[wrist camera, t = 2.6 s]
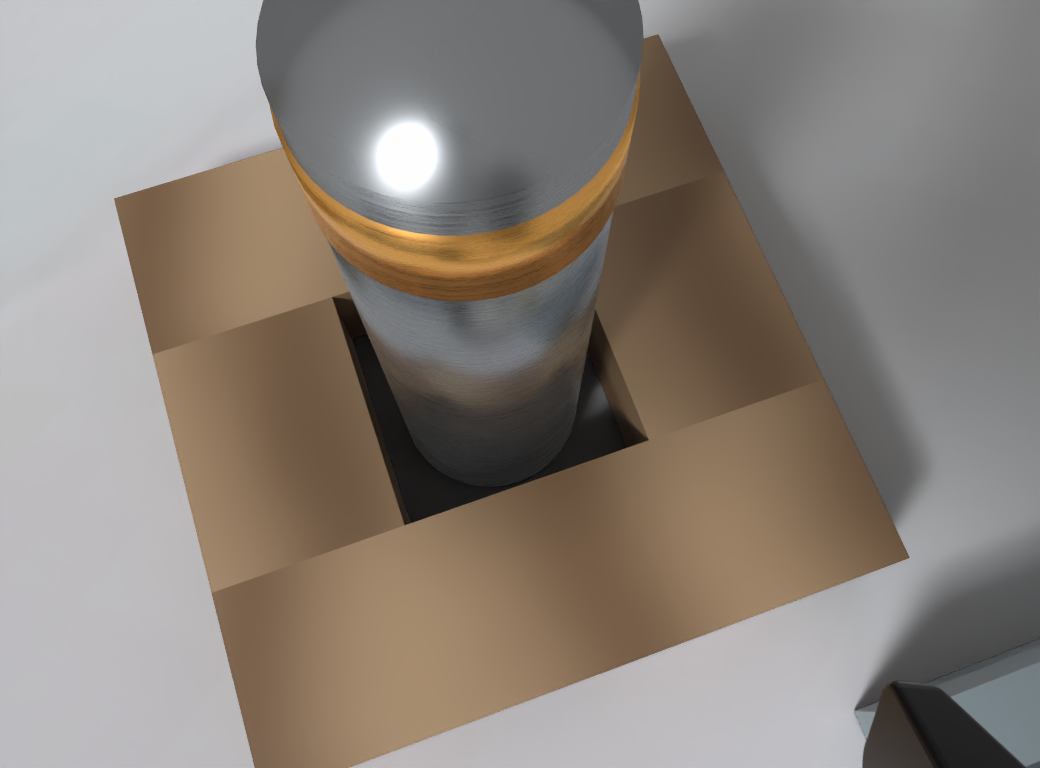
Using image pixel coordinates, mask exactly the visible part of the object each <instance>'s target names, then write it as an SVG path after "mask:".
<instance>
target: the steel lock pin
mask: <svg viewBox="0 0 1040 768" xmlns="http://www.w3.org/2000/svg"><path fill="white" fill-rule="evenodd" d="M642 49H643V24H642V15H641V11H640V6H639V2H638V0H263V4H262V8H261V12H260V16H259V20H258V26H257V37H256V52H257V65H258V70H259V74H260V78H261V83H262V86H263V89H264V91H265V94H266V96H267V99H268V101H269V104H270V109H271V113H272V118H273V122H274V126H275V129H276V131H277V134H278V136H279V139H280V141H281V144H282V146H283V149H284V151H285V153H286V156H287V158H288V160H289V162H290V165H291V167H292V169H293V172H294V174H295V176H296V179H297V181H298V183H299V185H300V188H301V190H302V192H303V195H304V197H305V199H306V202H307V204H308V206H309V208H310V211H311V213H312V215H313V218H314V219H315V221H316V223H317V225H318V226H319V228H320V230H321V231H322V233H323V235H324V236H325V237H326V239H327V240H328V242H329V245H330V247H331V249H332V252H333V254H334V257H335V259H336V261H337V264H338V266H339V268H340V271H341V273H342V275H343V278H344V280H345V282H346V285H347V287H348V289H349V292H350V294H351V296H352V299H353V301H354V304H355V306H356V308H357V311H358V313H359V315H360V318H361V320H362V322H363V325H364V327H365V329H366V332H367V334H368V336H369V339H370V341H371V343H372V346H373V348H374V350H375V353H376V355H377V358H378V360H379V362H380V365H381V367H382V369H383V372H384V374H385V376H386V379H387V381H388V383H389V386H390V388H391V390H392V393H393V395H394V397H395V400H396V402H397V404H398V407H399V409H400V412H401V414H402V416H403V419H404V421H405V423H406V426H407V428H408V430H409V433H410V435H411V437H412V440H413V442H414V443H415V445H416V447H417V448H418V450H419V451H420V453H421V454H422V455H423V457H424V458H425V459H426V460H427V461H428V462H429V463H430V464H431V465H432V466H433V467H435V468H436V469H437V470H439V471H440V472H441V473H443V474H445V475H447V476H448V477H450V478H452V479H455V480H457V481H460V482H462V483H466V484H470V485H475V486H484V487H492V486H503V485H509V484H513V483H516V482H520V481H522V480H524V479H527V478H529V477H531V476H533V475H534V474H536V473H538V472H539V471H541V470H542V469H543V468H545V467H546V466H547V465H548V464H549V463H550V462H551V461H552V460H553V459H554V458H555V457H556V456H557V455H558V454H559V452H560V451H561V450H562V448H563V447H564V445H565V443H566V441H567V440H568V438H569V435H570V433H571V430H572V427H573V423H574V419H575V414H576V409H577V403H578V398H579V393H580V387H581V382H582V377H583V371H584V366H585V360H586V355H587V350H588V344H589V339H590V334H591V328H592V323H593V318H594V312H595V307H596V301H597V296H598V291H599V285H600V280H601V275H602V269H603V264H604V259H605V253H606V248H607V242H608V237H609V232H610V226H611V221H612V216H613V210H614V207H615V205H616V202H617V200H618V198H619V194H620V190H621V186H622V182H623V178H624V173H625V168H626V163H627V158H628V153H629V147H630V142H631V137H632V132H633V127H634V122H635V117H636V111H637V106H638V101H639V90H640V65H641V60H642Z"/></svg>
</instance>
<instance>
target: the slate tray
mask: <svg viewBox="0 0 1040 768" xmlns="http://www.w3.org/2000/svg"><path fill="white" fill-rule="evenodd" d="M924 684H931V685H935V686H937V687H939V688H941V689H942V690H943V691H945V692H946V693H947V694H948V695H949V696H950V697H951V698H952V699H953V700H955V701H956V702H957V703H958V704H959V705H960V706H961V707H962V708H963V709H964V710H965V711H966V712H967V713H968V714H970V715H971V716H972V717H973V718H974V719H975V720H976V721H977V722H978V723H979V724H980V725H981V726H982V727H984V728H985V729H986V730H987V731H988V732H989V733H990V734H991V735H992V736H993V737H994V738H995V739H996V740H998V741H999V742H1000V743H1001V744H1002V745H1003V746H1004V747H1005V748H1006V749H1007V750H1008V751H1009V752H1010V753H1011V754H1013V755H1014V756H1015V757H1016V758H1017V759H1018V760H1019V761H1020V762H1021V763H1022V764H1023V765H1024V766H1025V767H1027V768H1040V639H1037V640H1035V641H1032V642H1030V643H1027V644H1025V645H1022V646H1019V647H1017V648H1014V649H1012V650H1009V651H1007V652H1004V653H1001V654H999V655H996V656H994V657H991V658H989V659H986V660H983V661H981V662H978V663H976V664H973V665H971V666H968V667H966V668H963V669H960V670H958V671H955V672H953V673H950V674H948V675H945V676H942V677H940V678H937V679H935V680H932V681H930V682H927V683H924ZM878 703H879V701H878V702H876V703H873V704H871V705H868V706H865V707H863V708H860V709H858V710H855V711H854V713H855V715H856V717H857V720H858V722H859V724H860V726H861V729H862V731H863V733H864V736H865V738H866V740H867V737H868V734H869V731H870V727H871V724H872V721H873V718H874V715H875V712H876V709H877V706H878Z"/></svg>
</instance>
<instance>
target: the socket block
mask: <svg viewBox="0 0 1040 768" xmlns="http://www.w3.org/2000/svg"><path fill="white" fill-rule="evenodd" d="M114 200H115V204H116V208H117V212H118V217H119V221H120V225H121V229H122V233H123V237H124V241H125V245H126V249H127V253H128V257H129V261H130V265H131V269H132V273H133V277H134V281H135V285H136V289H137V293H138V297H139V301H140V305H141V309H142V313H143V318H144V322H145V326H146V330H147V334H148V338H149V342H150V346H151V350H152V354H153V358H154V362H155V366H156V370H157V374H158V378H159V382H160V386H161V390H162V394H163V398H164V402H165V406H166V410H167V414H168V419H169V423H170V427H171V431H172V435H173V439H174V443H175V447H176V451H177V455H178V459H179V463H180V467H181V471H182V475H183V479H184V483H185V487H186V491H187V495H188V499H189V503H190V507H191V511H192V515H193V520H194V524H195V528H196V532H197V536H198V540H199V544H200V548H201V552H202V556H203V560H204V564H205V568H206V572H207V576H208V580H209V584H210V588H211V592H212V596H213V600H214V604H215V608H216V612H217V616H218V620H219V625H220V629H221V633H222V637H223V641H224V645H225V649H226V653H227V657H228V661H229V665H230V669H231V673H232V677H233V681H234V685H235V689H236V693H237V697H238V701H239V705H240V709H241V713H242V717H243V721H244V726H245V730H246V734H247V738H248V742H249V746H250V750H251V754H252V758H253V762H254V766H255V768H349V767H352V766H354V765H357V764H360V763H362V762H365V761H368V760H370V759H373V758H376V757H378V756H381V755H384V754H386V753H389V752H392V751H394V750H397V749H400V748H402V747H405V746H408V745H411V744H413V743H416V742H419V741H421V740H424V739H427V738H429V737H432V736H435V735H437V734H440V733H443V732H445V731H448V730H451V729H453V728H456V727H459V726H461V725H464V724H467V723H469V722H472V721H475V720H477V719H480V718H483V717H485V716H488V715H491V714H493V713H496V712H499V711H501V710H504V709H507V708H509V707H512V706H515V705H517V704H520V703H523V702H525V701H528V700H531V699H534V698H536V697H539V696H542V695H544V694H547V693H550V692H552V691H555V690H558V689H560V688H563V687H566V686H568V685H571V684H574V683H576V682H579V681H582V680H584V679H587V678H590V677H592V676H595V675H598V674H600V673H603V672H606V671H608V670H611V669H614V668H616V667H619V666H622V665H624V664H627V663H630V662H632V661H635V660H638V659H640V658H643V657H646V656H648V655H651V654H654V653H656V652H659V651H662V650H665V649H667V648H670V647H673V646H675V645H678V644H681V643H683V642H686V641H689V640H691V639H694V638H697V637H699V636H702V635H705V634H707V633H710V632H713V631H715V630H718V629H721V628H723V627H726V626H729V625H731V624H734V623H737V622H739V621H742V620H745V619H747V618H750V617H753V616H755V615H758V614H761V613H763V612H766V611H769V610H771V609H774V608H777V607H779V606H782V605H785V604H787V603H790V602H793V601H796V600H798V599H801V598H804V597H806V596H809V595H812V594H814V593H817V592H820V591H822V590H825V589H828V588H830V587H833V586H836V585H838V584H841V583H844V582H846V581H849V580H852V579H854V578H857V577H860V576H862V575H865V574H868V573H870V572H873V571H876V570H878V569H881V568H884V567H886V566H889V565H892V564H894V563H897V562H900V561H902V560H905V559H908V558H910V557H909V555H908V553H907V551H906V549H905V547H904V545H903V543H902V541H901V539H900V537H899V534H898V532H897V530H896V528H895V526H894V524H893V522H892V520H891V518H890V516H889V514H888V512H887V509H886V507H885V505H884V503H883V501H882V499H881V497H880V495H879V493H878V491H877V489H876V487H875V484H874V482H873V480H872V478H871V476H870V474H869V472H868V470H867V468H866V466H865V464H864V462H863V460H862V457H861V455H860V453H859V451H858V449H857V447H856V445H855V443H854V441H853V439H852V437H851V435H850V432H849V430H848V428H847V426H846V424H845V422H844V420H843V418H842V416H841V414H840V412H839V410H838V408H837V405H836V403H835V401H834V399H833V397H832V395H831V393H830V391H829V389H828V387H827V385H826V383H825V380H824V378H823V376H822V374H821V372H820V370H819V368H818V366H817V364H816V362H815V360H814V358H813V356H812V353H811V351H810V349H809V347H808V345H807V343H806V341H805V339H804V337H803V335H802V333H801V331H800V328H799V326H798V324H797V322H796V320H795V318H794V316H793V314H792V312H791V310H790V308H789V306H788V303H787V301H786V299H785V297H784V295H783V293H782V291H781V289H780V287H779V285H778V283H777V281H776V279H775V276H774V274H773V272H772V270H771V268H770V266H769V264H768V262H767V260H766V258H765V256H764V254H763V251H762V249H761V247H760V245H759V243H758V241H757V239H756V237H755V235H754V233H753V231H752V229H751V227H750V224H749V222H748V220H747V218H746V216H745V214H744V212H743V210H742V208H741V206H740V204H739V202H738V199H737V197H736V195H735V193H734V191H733V189H732V187H731V185H730V183H729V181H728V179H727V177H726V174H725V172H724V170H723V168H722V166H721V164H720V162H719V160H718V158H717V156H716V154H715V152H714V150H713V147H712V145H711V143H710V141H709V139H708V137H707V135H706V133H705V131H704V129H703V127H702V125H701V122H700V120H699V118H698V116H697V114H696V112H695V110H694V108H693V106H692V104H691V102H690V100H689V98H688V95H687V93H686V91H685V89H684V87H683V85H682V83H681V81H680V79H679V77H678V75H677V73H676V70H675V68H674V66H673V64H672V62H671V60H670V58H669V56H668V54H667V52H666V50H665V48H664V46H663V43H662V41H661V39H660V37H659V35H655V36H651V37H648V38H645V39H643V49H642V60H641V65H640V90H639V101H638V106H637V111H636V117H635V122H634V127H633V132H632V137H631V142H630V147H629V153H628V158H627V163H626V168H625V173H624V178H623V182H622V186H621V190H620V194H619V198H618V200H617V202H616V205H615V207H614V210H613V216H612V221H611V226H610V232H609V237H608V242H607V248H606V253H605V259H604V264H603V269H602V275H601V280H600V285H599V291H598V296H597V301H596V307H595V312H594V318H593V323H592V328H591V334H590V339H589V344H588V352H589V355H590V357H591V360H592V362H593V365H594V367H595V370H596V372H597V375H598V377H599V380H600V382H601V385H602V387H603V390H604V392H605V394H606V397H607V399H608V402H609V404H610V407H611V409H612V412H613V414H614V417H615V419H616V422H617V424H618V427H619V429H620V432H621V434H622V437H623V439H624V442H625V444H626V447H627V448H625V449H622V450H620V451H617V452H614V453H611V454H608V455H605V456H602V457H599V458H597V459H594V460H591V461H588V462H585V463H582V464H579V465H577V466H574V467H571V468H568V469H565V470H562V471H559V472H556V473H554V474H551V475H548V476H545V477H542V478H539V479H536V480H534V481H531V482H528V483H525V484H522V485H519V486H516V487H513V488H511V489H508V490H505V491H502V492H499V493H496V494H493V495H491V496H488V497H485V498H482V499H479V500H476V501H473V502H470V503H468V504H465V505H462V506H459V507H456V508H453V509H450V510H448V511H445V512H442V513H439V514H436V515H433V516H430V517H428V518H425V519H422V520H419V521H416V522H413V523H411V522H410V519H409V516H408V513H407V510H406V507H405V503H404V500H403V497H402V494H401V491H400V488H399V485H398V482H397V478H396V475H395V472H394V469H393V466H392V463H391V460H390V457H389V453H388V450H387V447H386V444H385V441H384V438H383V435H382V432H381V428H380V425H379V422H378V419H377V416H376V413H375V410H374V407H373V403H372V400H371V397H370V394H369V391H368V388H367V385H366V381H365V378H364V375H363V372H362V369H361V366H360V363H359V360H358V356H357V353H356V350H355V347H354V344H353V341H352V339H354V338H357V337H360V336H363V335H366V334H367V332H366V329H365V327H364V325H363V322H362V320H361V318H360V315H359V313H358V311H357V308H356V306H355V304H354V301H353V299H352V296H351V294H350V292H349V289H348V287H347V285H346V282H345V280H344V278H343V275H342V273H341V271H340V268H339V266H338V264H337V261H336V259H335V257H334V254H333V252H332V249H331V247H330V245H329V242H328V240H327V239H326V237H325V236H324V235H323V233H322V231H321V230H320V228H319V226H318V225H317V223H316V221H315V219H314V218H313V215H312V213H311V211H310V208H309V206H308V204H307V202H306V199H305V197H304V195H303V192H302V190H301V188H300V185H299V183H298V181H297V179H296V176H295V174H294V172H293V169H292V167H291V165H290V162H289V160H288V158H287V156H286V153H285V151H284V149H283V148H280V149H277V150H274V151H270V152H267V153H264V154H260V155H257V156H254V157H250V158H247V159H244V160H240V161H237V162H234V163H231V164H227V165H224V166H221V167H217V168H214V169H211V170H207V171H204V172H201V173H197V174H194V175H191V176H187V177H184V178H181V179H178V180H174V181H171V182H168V183H164V184H161V185H158V186H154V187H151V188H148V189H144V190H141V191H138V192H134V193H131V194H128V195H125V196H121V197H118V198H115V199H114Z"/></svg>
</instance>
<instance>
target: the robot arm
mask: <svg viewBox="0 0 1040 768" xmlns="http://www.w3.org/2000/svg"><path fill="white" fill-rule="evenodd" d="M862 765H863V768H1027V767H1025V766H1024V765H1023V764H1022V763H1021V762H1020V761H1019V760H1018V759H1017V758H1016V757H1015V756H1014V755H1013V754H1011V753H1010V752H1009V751H1008V750H1007V749H1006V748H1005V747H1004V746H1003V745H1002V744H1001V743H1000V742H999V741H998V740H996V739H995V738H994V737H993V736H992V735H991V734H990V733H989V732H988V731H987V730H986V729H985V728H984V727H982V726H981V725H980V724H979V723H978V722H977V721H976V720H975V719H974V718H973V717H972V716H971V715H970V714H968V713H967V712H966V711H965V710H964V709H963V708H962V707H961V706H960V705H959V704H958V703H957V702H956V701H955V700H953V699H952V698H951V697H950V696H949V695H948V694H947V693H946V692H945V691H943V690H942V689H941V688H939V687H937V686H935V685H931V684H924V683H914V682H904V681H893V682H890V683H888V684H887V685H886V686H885V688H884V689H883V691H882V694H881V697H880V700H879V703H878V706H877V709H876V712H875V715H874V718H873V721H872V724H871V727H870V731H869V734H868V737H867V740H866V743H865V747H864V751H863V764H862Z"/></svg>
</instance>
